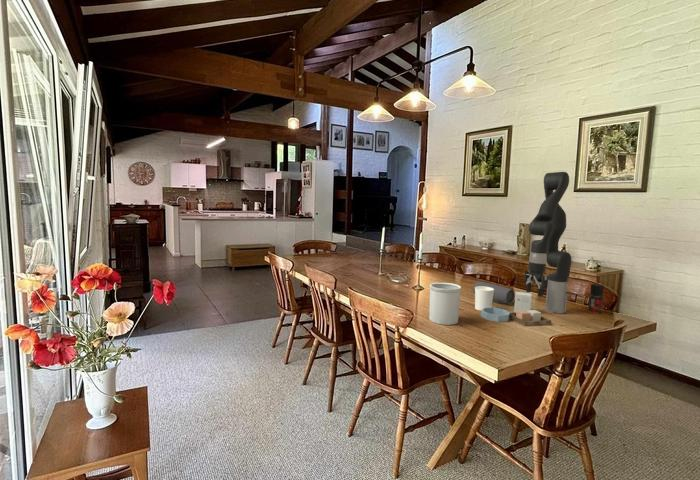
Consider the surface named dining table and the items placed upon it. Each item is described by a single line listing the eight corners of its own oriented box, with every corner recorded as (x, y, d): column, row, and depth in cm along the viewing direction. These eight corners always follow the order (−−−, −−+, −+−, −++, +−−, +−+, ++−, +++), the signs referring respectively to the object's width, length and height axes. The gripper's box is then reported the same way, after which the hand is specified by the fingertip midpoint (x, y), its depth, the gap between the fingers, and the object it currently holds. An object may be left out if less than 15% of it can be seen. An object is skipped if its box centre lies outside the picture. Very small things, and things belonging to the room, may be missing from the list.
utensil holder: (421, 317, 188) (423, 283, 186) (446, 314, 194) (448, 281, 192) (439, 327, 175) (442, 290, 173) (465, 323, 181) (467, 288, 179)
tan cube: (523, 319, 188) (524, 310, 188) (529, 322, 184) (530, 313, 183) (515, 319, 187) (516, 310, 187) (521, 322, 183) (522, 313, 182)
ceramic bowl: (498, 314, 197) (499, 307, 197) (514, 322, 185) (515, 314, 184) (476, 314, 195) (477, 307, 194) (490, 323, 182) (491, 315, 182)
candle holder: (494, 313, 199) (495, 291, 197) (474, 311, 200) (476, 289, 199) (490, 308, 208) (492, 286, 207) (472, 306, 210) (473, 285, 209)
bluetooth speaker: (514, 304, 216) (516, 287, 215) (505, 306, 211) (506, 289, 210) (481, 295, 235) (482, 279, 234) (471, 297, 230) (472, 281, 229)
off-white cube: (534, 318, 190) (535, 310, 189) (540, 321, 185) (541, 312, 185) (526, 319, 189) (527, 310, 188) (532, 322, 184) (533, 313, 184)
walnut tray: (530, 316, 195) (531, 311, 194) (550, 326, 181) (551, 320, 181) (506, 317, 192) (506, 312, 191) (524, 327, 178) (525, 322, 178)
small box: (530, 312, 202) (532, 293, 201) (530, 315, 197) (532, 295, 196) (514, 310, 206) (515, 291, 204) (513, 312, 200) (515, 293, 199)
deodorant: (587, 311, 207) (590, 284, 205) (589, 309, 211) (592, 283, 210) (599, 313, 203) (602, 286, 201) (601, 311, 207) (604, 285, 206)
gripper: (554, 264, 178) (550, 298, 179) (534, 259, 192) (531, 290, 193) (540, 264, 176) (537, 297, 178) (521, 259, 190) (518, 290, 192)
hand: (534, 294), depth 186 cm, fingers open, 8 cm apart
